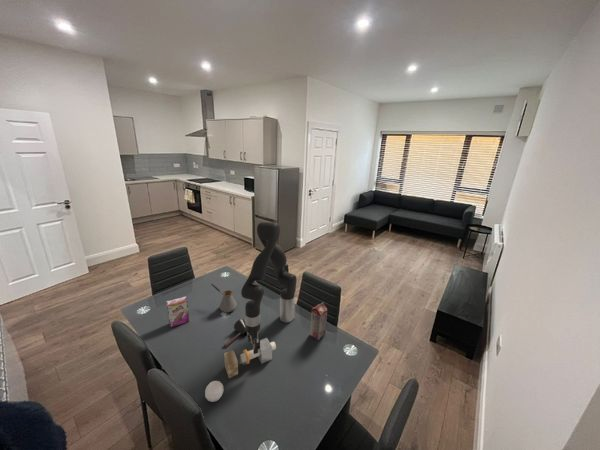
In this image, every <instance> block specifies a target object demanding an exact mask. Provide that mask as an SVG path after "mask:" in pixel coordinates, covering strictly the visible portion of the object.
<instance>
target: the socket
mask: <svg viewBox="0 0 600 450" xmlns="http://www.w3.org/2000/svg"><path fill="white" fill-rule="evenodd" d="M223 354H224V367H225V371H226V373H227V376H228V378H229V379H231V378H233V377H236V376H238V375H239V366H238V365H239V364H238V358H237V356H236V353H235V351H234V349H231V350H229V351H225V352H224V353H223Z"/></svg>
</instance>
